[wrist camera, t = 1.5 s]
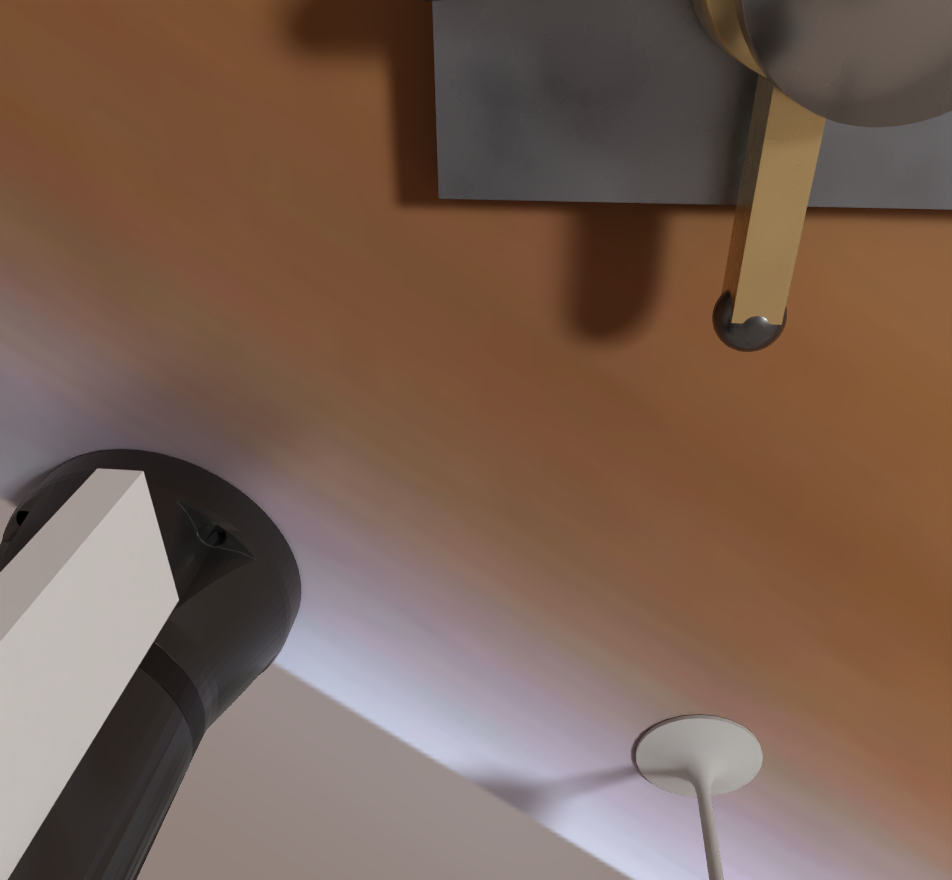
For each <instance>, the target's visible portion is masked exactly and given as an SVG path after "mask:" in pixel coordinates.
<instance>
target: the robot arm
mask: <svg viewBox="0 0 952 880" xmlns="http://www.w3.org/2000/svg"><path fill="white" fill-rule="evenodd" d="M300 601H301V581H300V575H299V570H298V567H297V563H296V560H295V558H294V555H293V553H292V551H291V549H290V547H289V545H288V543H287V541H286V540H285V538H284V536H283V535H282V533H281V532H280V530H279V529H278V528H277V526H276V525H275V524H274V523H273V521H272V520H271V519H270V518H269V517H268V516H267V514H266V513H265V512H264V511H263V510H262V509H261V508H260V507H259V506H258V505H257V504H256V503H254V502H253V501H252V500H251V499H250V498H249V497H247V496H246V495H245V494H244V493H242V492H241V491H240V490H238V489H237V488H235V487H234V486H233V485H231V484H230V483H228V482H226V481H225V480H223V479H221V478H220V477H218V476H216V475H214V474H212V473H211V472H209V471H207V470H204V469H202V468H200V467H198V466H196V465H193V464H191V463H188V462H185V461H182V460H179V459H176V458H173V457H169V456H166V455H161V454H157V453H152V452H145V451H136V450H108V451H99V452H94V453H89V454H86V455H82V456H79V457H77V458H74V459H72V460H70V461H68V462H66V463H64V464H62V465H60V466H59V467H57V468H56V469H55V470H53V471H52V472H51V473H50V474H49V475H48V476H47V477H46V478H45V479H44V480H42V481H41V482H40V483H39V484H38V485H37V486H36V487H35V488H34V489H33V490H32V491H31V492H30V493H29V494H28V495H27V496H26V497H25V498H24V499H23V500H22V502H21V503H20V504H19V505H18V507H17V508H16V510H15V511H14V513H13V514H12V516H11V518H10V520H9V522H8V524H7V527H6V529H5V532H4V535H3V539H2V542H1V544H0V880H136V879H137V876H138V875H139V873H140V870H141V868H142V866H143V864H144V862H145V860H146V857H147V855H148V853H149V851H150V849H151V847H152V845H153V842H154V840H155V838H156V836H157V834H158V831H159V829H160V827H161V825H162V823H163V821H164V819H165V816H166V814H167V812H168V810H169V808H170V806H171V803H172V801H173V799H174V797H175V795H176V793H177V791H178V788H179V786H180V784H181V782H182V780H183V778H184V775H185V773H186V771H187V769H188V767H189V764H190V762H191V760H192V757H193V756H194V754H195V752H196V750H197V748H198V746H199V743H200V741H201V739H202V738H203V736H204V733H205V732H206V730H207V729H208V728H209V727H210V726H211V725H212V723H214V721H215V720H216V719H217V718H218V717H219V716H220V715H221V714H222V713H223V712H224V711H225V710H226V709H227V708H228V707H229V706H230V705H231V704H232V703H233V702H234V701H235V700H236V699H237V698H238V697H239V696H240V695H241V694H242V693H243V692H244V691H245V690H246V689H247V687H248V686H249V685H250V684H251V683H252V682H253V681H254V680H255V679H256V678H257V676H258V675H260V674H261V673H262V672H264V671H265V670H266V669H267V668H268V667H269V666H270V665H271V663H272V662H273V661H274V660H275V658H276V657H277V656H278V654H279V653H280V651H281V649H282V648H283V646H284V644H285V641H286V639H287V637H288V635H289V632H290V630H291V628H292V625H293V623H294V621H295V618H296V616H297V613H298V610H299V606H300Z"/></svg>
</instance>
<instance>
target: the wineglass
mask: <svg viewBox="0 0 952 880" xmlns="http://www.w3.org/2000/svg"><path fill="white" fill-rule="evenodd" d="M762 758H763V754H762V751H761V747H760V744H759V742H758V740H757V739H756V737H755V736H754V735H753V733H751V732H750V731H749V730H747V729H746V728H745V727H744V726H742V725H740V724H738V723H736V722H733V721H731V720H728V719H724V718H721V717H717V716H708V715H688V716H681V717H676V718H672V719H668V720H666V721H664V722H662V723H659V724H657V725H655V726H654V727H652V728H651V729H650V730H648V731H647V732H646V733H645V734H644V735H643V737H642V738H641V739H640V740H639V743H638V745H637V748H636V763H637V765H638V768H639V770H640V772H641V773H642V774H643V776H644V777H645V778H646V779H647V780H648V781H650V782H651V783H652V784H654V785H655V786H657V787H659V788H661V789H663V790H666V791H668V792H671V793H675V794H679V795H684V796H694V797H697V798H698V804H699V811H700V818H701V825H702V832H703V839H704V846H705V853H706V860H707V867H708V874H709V880H724V877H723V870H722V864H721V858H720V852H719V845H718V839H717V833H716V826H715V820H714V814H713V807H712V801H711V796H715V795H720V794H725V793H728V792H731V791H734V790H736V789H739V788H740V787H742V786H744V785H745V784H747V783H749V782H750V781H751V780H752V779H753V778H754V777H755V776H756V775H757V773H758V771H759V769H760V768H761V766H762Z"/></svg>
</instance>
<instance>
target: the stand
mask: <svg viewBox="0 0 952 880" xmlns="http://www.w3.org/2000/svg"><path fill="white" fill-rule="evenodd" d="M432 9H433V39H434V69H435V100H436V130H437V160H438V190H439V199H477V200H524V201H571V202H618V203H665V204H712V205H737V200H738V194H739V188H740V182H741V176H742V170H743V164H744V158H745V153H746V147H747V141H748V135H749V129H750V123H751V117H752V111H753V105H754V99H755V93H756V87H757V81H758V75H759V74H758V73H757V72H755V71H753V70H752V69H750V68H748V67H747V66H745V65H744V64H742V63H740V62H739V61H737V60H736V59H734V58H732V57H731V56H729V55H728V54H727V53H725V52H724V51H723V50H722V49H720V48H719V47H718V46H717V45H716V44H715V43H714V42H713V41H712V39H711V38H710V37H709V36H708V34H707V33H706V31H705V30H704V28H703V27H702V25H701V23H700V21H699V19H698V17H697V15H696V13H695V10H694V7H693V4H692V0H440V1H434V2H432ZM807 207H854V208H901V209H948V210H952V111H950V112H947V113H945V114H943V115H940V116H938V117H934V118H931V119H928V120H924V121H921V122H918V123H913V124H907V125H901V126H896V127H878V128H872V127H859V126H852V125H847V124H843V123H838V122H834V121H832V120H829V119H826V122H825V126H824V131H823V136H822V140H821V145H820V150H819V154H818V159H817V163H816V168H815V173H814V177H813V182H812V187H811V191H810V196H809V200H808V205H807Z"/></svg>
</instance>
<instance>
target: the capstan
mask: <svg viewBox="0 0 952 880" xmlns="http://www.w3.org/2000/svg"><path fill="white" fill-rule="evenodd" d="M423 1H430V2H434V1H440V0H423ZM692 4H693V7H694V10H695V13H696V15H697V17H698V19H699V21H700V23H701V25H702V27H703V28H704V30H705V31H706V33H707V34H708V36H709V37H710V38H711V39H712V41H713V42H714V43H715V44H716V45H717V46H718V47H719V48H720V49H722V50H723V51H724V52H725V53H727V54H728V55H729V56H731V57H732V58H734V59H736V60H737V61H739V62H740V63H742V64H744V65H745V66H747V67H748V68H750V69H752V70H753V71H755V72H757V73H758V74H759V75H758V81H757V87H756V93H755V99H754V105H753V111H752V117H751V123H750V129H749V135H748V141H747V147H746V153H745V158H744V164H743V170H742V176H741V182H740V188H739V194H738V200H737V206H736V212H735V218H734V224H733V230H732V236H731V242H730V248H729V254H728V259H727V265H726V271H725V277H724V283H723V289H722V294H721V296H720V297H719V298H718V300H717V302H716V304H715V306H714V310H713V316H712V321H713V327H714V330H715V332H716V334H717V336H718V337H719V339H720V340H721V341H722V342H723V343H724V344H725V345H727V346H728V347H730V348H732V349H735V350H737V351H742V352H753V351H758V350H761V349H764V348H766V347H768V346H769V345H771V344H772V343H773V342H774V341H775V340H776V339H777V338H778V337H779V336H780V335H781V333H782V331H783V329H784V327H785V324H786V319H787V310H786V302H787V298H788V293H789V288H790V284H791V279H792V274H793V270H794V265H795V261H796V256H797V251H798V247H799V242H800V237H801V233H802V228H803V224H804V219H805V214H806V210H807V205H808V200H809V196H810V191H811V187H812V182H813V177H814V173H815V168H816V163H817V159H818V154H819V150H820V145H821V140H822V136H823V131H824V126H825V122H826V119H829V120H832V121H834V122H838V123H843V124H847V125H852V126H859V127H872V128H878V127H896V126H901V125H907V124H913V123H918V122H921V121H924V120H928V119H931V118H934V117H938V116H940V115H943V114H945V113H947V112H950V111H952V0H692Z"/></svg>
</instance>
